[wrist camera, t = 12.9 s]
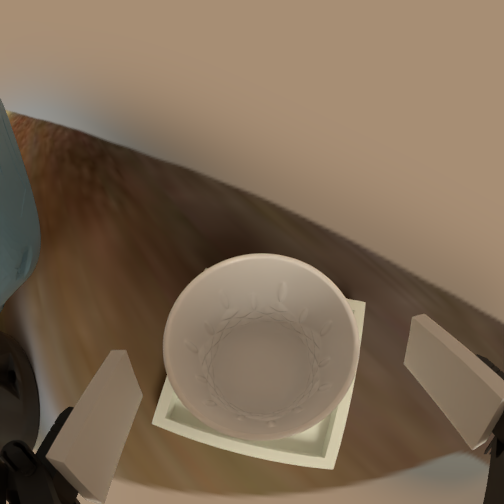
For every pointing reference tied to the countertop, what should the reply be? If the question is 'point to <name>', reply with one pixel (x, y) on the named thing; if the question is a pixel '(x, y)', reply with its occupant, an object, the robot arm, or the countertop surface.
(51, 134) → the countertop surface
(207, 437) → the coaster tray
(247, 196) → the countertop surface
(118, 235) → the countertop surface
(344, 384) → the white cup
